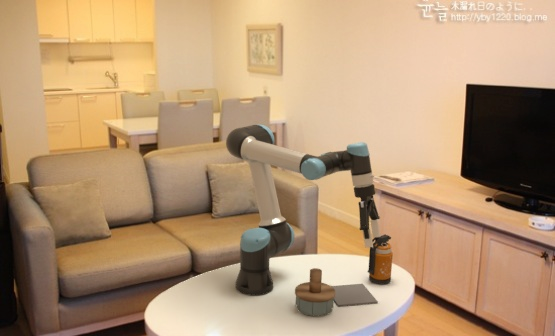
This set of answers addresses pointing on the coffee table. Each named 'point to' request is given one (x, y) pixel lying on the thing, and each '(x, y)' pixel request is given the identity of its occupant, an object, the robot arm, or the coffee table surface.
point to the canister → (380, 260)
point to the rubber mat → (353, 295)
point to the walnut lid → (315, 288)
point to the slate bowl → (314, 307)
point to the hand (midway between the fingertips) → (373, 242)
